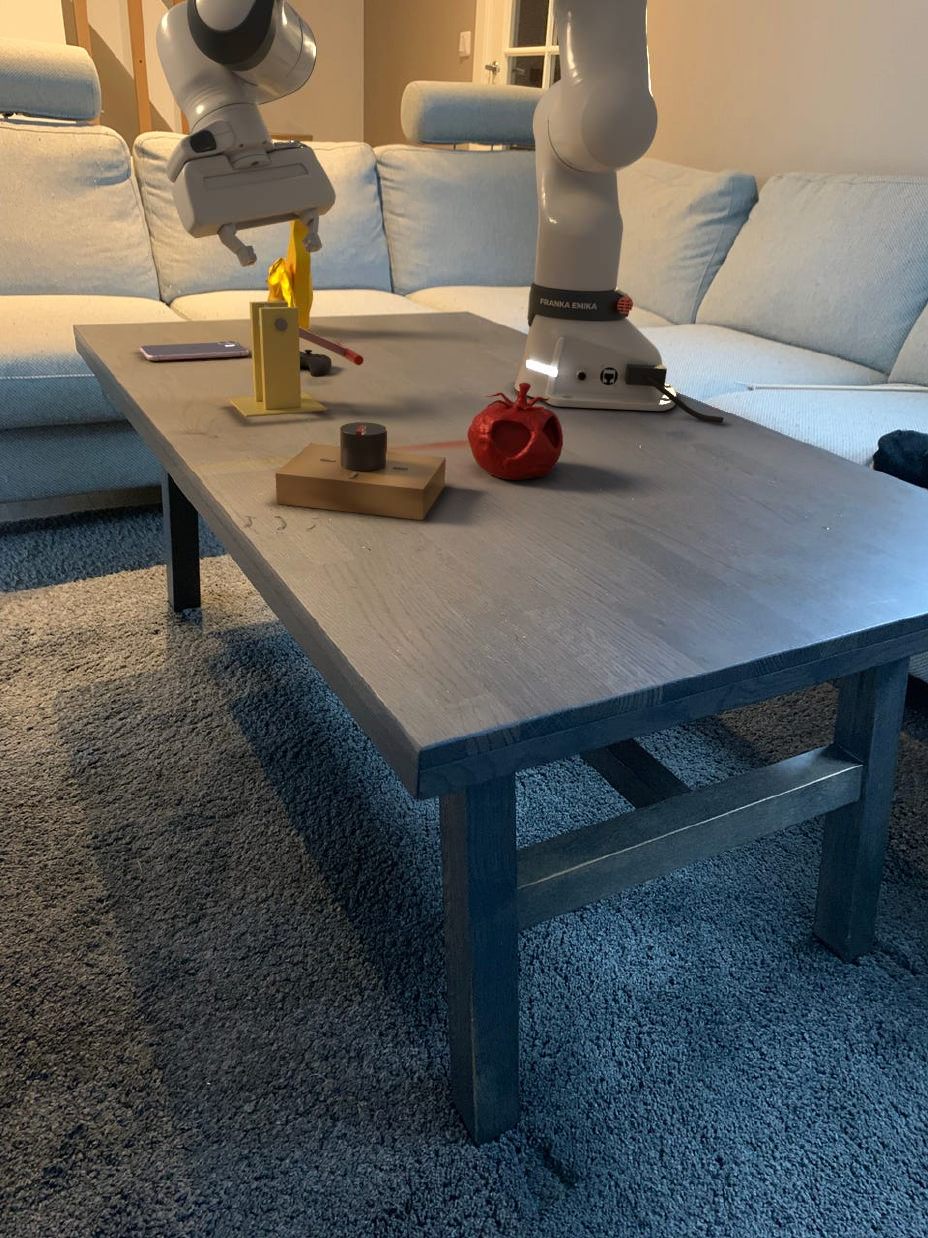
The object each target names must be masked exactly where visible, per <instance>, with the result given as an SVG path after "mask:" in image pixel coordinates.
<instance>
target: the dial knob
mask: <svg viewBox="0 0 928 1238" xmlns="http://www.w3.org/2000/svg"><path fill="white" fill-rule="evenodd" d="M339 433H340V435H339V446H340V462H341V466H342V467H344V468H346V469H350V470H354V471H375V470H380V469H383V468H384V467H386V465H387V451H388V428H387V426H385V425H383V424H379V423H375V422H369V421H366V422H365V421H357V422H349V423H346V424H345V423H344V424H343V425H341V426H340V428H339Z"/></svg>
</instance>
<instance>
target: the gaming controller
mask: <svg viewBox="0 0 928 1238" xmlns="http://www.w3.org/2000/svg"><path fill="white" fill-rule="evenodd" d="M312 352H313V350H312V349H304V351H301V350H300V368H306V369H309V374H310V376H311V377H313V378H321V377H324V376H326V375H327V374H329V371H331V369H332V362H333V361H332V359H331V358H330V356H328V355H326V354H323V353H312Z"/></svg>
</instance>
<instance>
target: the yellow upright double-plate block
mask: <svg viewBox="0 0 928 1238" xmlns="http://www.w3.org/2000/svg"><path fill="white" fill-rule="evenodd" d="M265 305H267V306H269V307H264V306H265ZM249 316H250V317H249V318H250V319H249V320H250V339H251V360H252V379H253V380H252V381H253V396H245V397H231V398H230V397H229V398H228V402H230V404H232V406H234V407H235V408H236V409H237V410H238V411H239V412H240V413H241V414H242V415H243V416H244V417H245V418H248V417H263V416H276V415H289V414H301V413H314V412H328V408H327V407H325V406H324V405H323V404H321V403H320V402H319V401H317V400H316V398H313V397H312V396H311V395H309V394H308V393H305V392H303V393H302V391H301V390H302V388H301V385H302V384H301V367H300V351H301V350H300V337H299V313H298V308H297V307H288V302H286V301H267V300H266V301H249ZM259 320H260V325H258V321H259Z"/></svg>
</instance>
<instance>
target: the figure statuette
mask: <svg viewBox="0 0 928 1238" xmlns="http://www.w3.org/2000/svg"><path fill="white" fill-rule="evenodd" d="M289 223H290V225H289V226H290V234H289V240H288V245H287V251H286V257H279V258H278V259H277V260H275V262H273V264H272V265H271V266H270V267H269V268H268V274H269V275H268V277H267V278H266V279H265V283H266V285H267V288H268V291H269V293H268V297H267V300H266V301H286V302H288V307H297V308H298V313H299V327H300V328H302V329H305V330H307V331H309V328H310V327H309V326H310V314H311V309H312V306H313V301H314V290H313V289H314V288H313V280H312V271H311V270H312V269H311V260H312V259H311V258H312V257H311V253H307V252H306V247H305V246H304V245H303V242H302V240H303V239H304V238H306V236H307V226H305V227H304V226H303V225H302V223H301V220H300V219H299V220H294V221H289Z"/></svg>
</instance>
